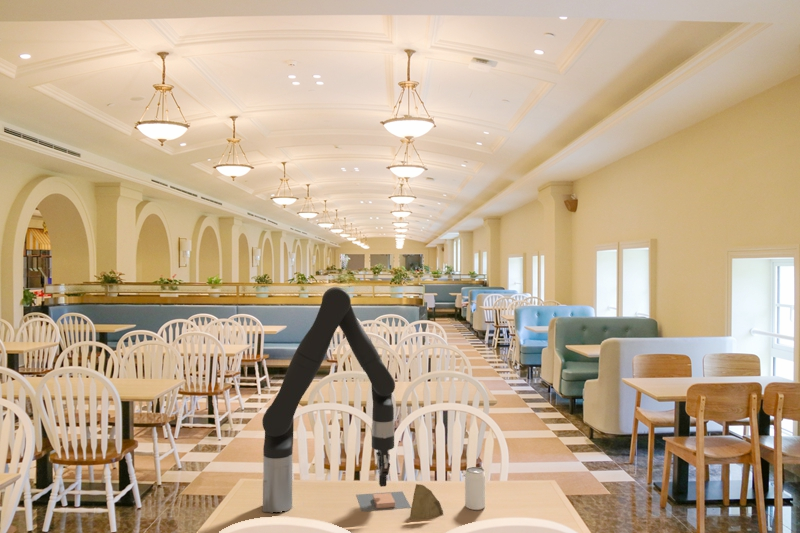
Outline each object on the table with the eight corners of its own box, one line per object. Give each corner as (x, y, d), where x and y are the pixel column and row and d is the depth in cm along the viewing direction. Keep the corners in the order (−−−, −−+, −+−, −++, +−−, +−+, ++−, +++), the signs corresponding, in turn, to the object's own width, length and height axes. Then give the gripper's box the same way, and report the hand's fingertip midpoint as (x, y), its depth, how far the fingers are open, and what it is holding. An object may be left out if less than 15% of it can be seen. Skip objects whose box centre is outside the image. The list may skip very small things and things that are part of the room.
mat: (361, 513, 185) (361, 511, 185) (356, 496, 199) (356, 494, 199) (411, 509, 189) (411, 507, 189) (402, 493, 202) (402, 491, 202)
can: (469, 511, 187) (469, 474, 187) (462, 503, 193) (462, 467, 193) (488, 509, 189) (488, 472, 189) (480, 501, 195) (480, 465, 195)
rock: (446, 503, 188) (416, 496, 190) (447, 488, 183) (416, 481, 185) (439, 535, 180) (408, 527, 182) (440, 520, 175) (407, 512, 177)
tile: (372, 499, 195) (376, 508, 188) (372, 494, 195) (376, 503, 188) (390, 497, 197) (395, 507, 189) (390, 492, 197) (395, 502, 189)
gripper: (368, 428, 200) (368, 479, 200) (375, 439, 187) (374, 494, 187) (390, 427, 202) (390, 477, 202) (398, 438, 189) (397, 492, 189)
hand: (382, 485), depth 194 cm, fingers closed
